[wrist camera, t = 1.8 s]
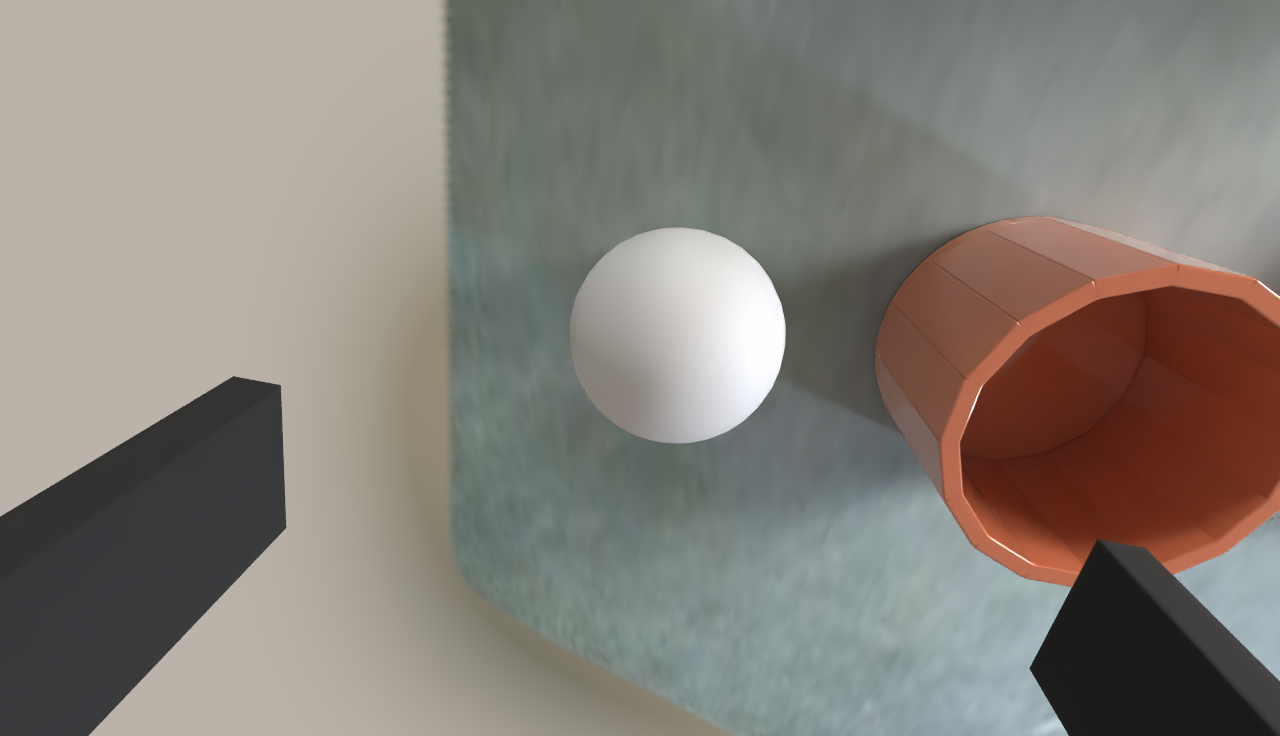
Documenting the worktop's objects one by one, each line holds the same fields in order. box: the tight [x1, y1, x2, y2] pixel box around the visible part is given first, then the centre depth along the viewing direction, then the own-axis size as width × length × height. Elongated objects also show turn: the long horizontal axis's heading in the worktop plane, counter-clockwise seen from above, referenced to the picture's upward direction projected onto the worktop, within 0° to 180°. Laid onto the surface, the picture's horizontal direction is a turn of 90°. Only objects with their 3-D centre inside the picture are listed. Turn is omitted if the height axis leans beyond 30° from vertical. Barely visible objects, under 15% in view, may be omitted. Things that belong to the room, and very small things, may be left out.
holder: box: [875, 216, 1280, 587], centre depth 23 cm, size 10×10×8 cm
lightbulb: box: [569, 227, 785, 443], centre depth 21 cm, size 6×6×11 cm
